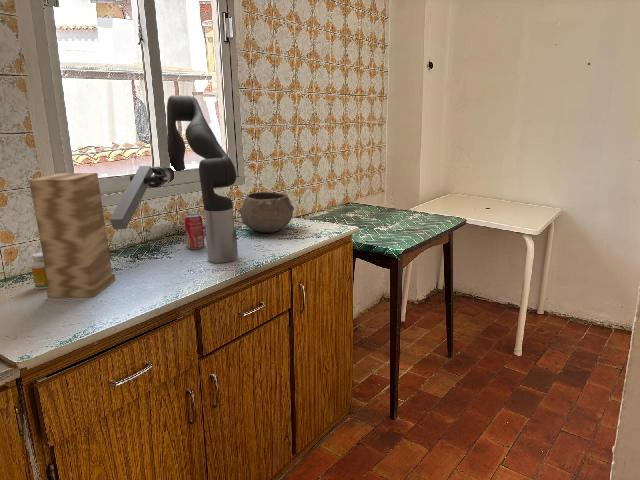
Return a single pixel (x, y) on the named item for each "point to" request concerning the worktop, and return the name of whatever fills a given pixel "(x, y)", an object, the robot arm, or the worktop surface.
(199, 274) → the worktop surface
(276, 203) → the clay pot
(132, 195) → the block
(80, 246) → the stand
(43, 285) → the supplement bottle
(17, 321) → the worktop surface
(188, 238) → the soda can
